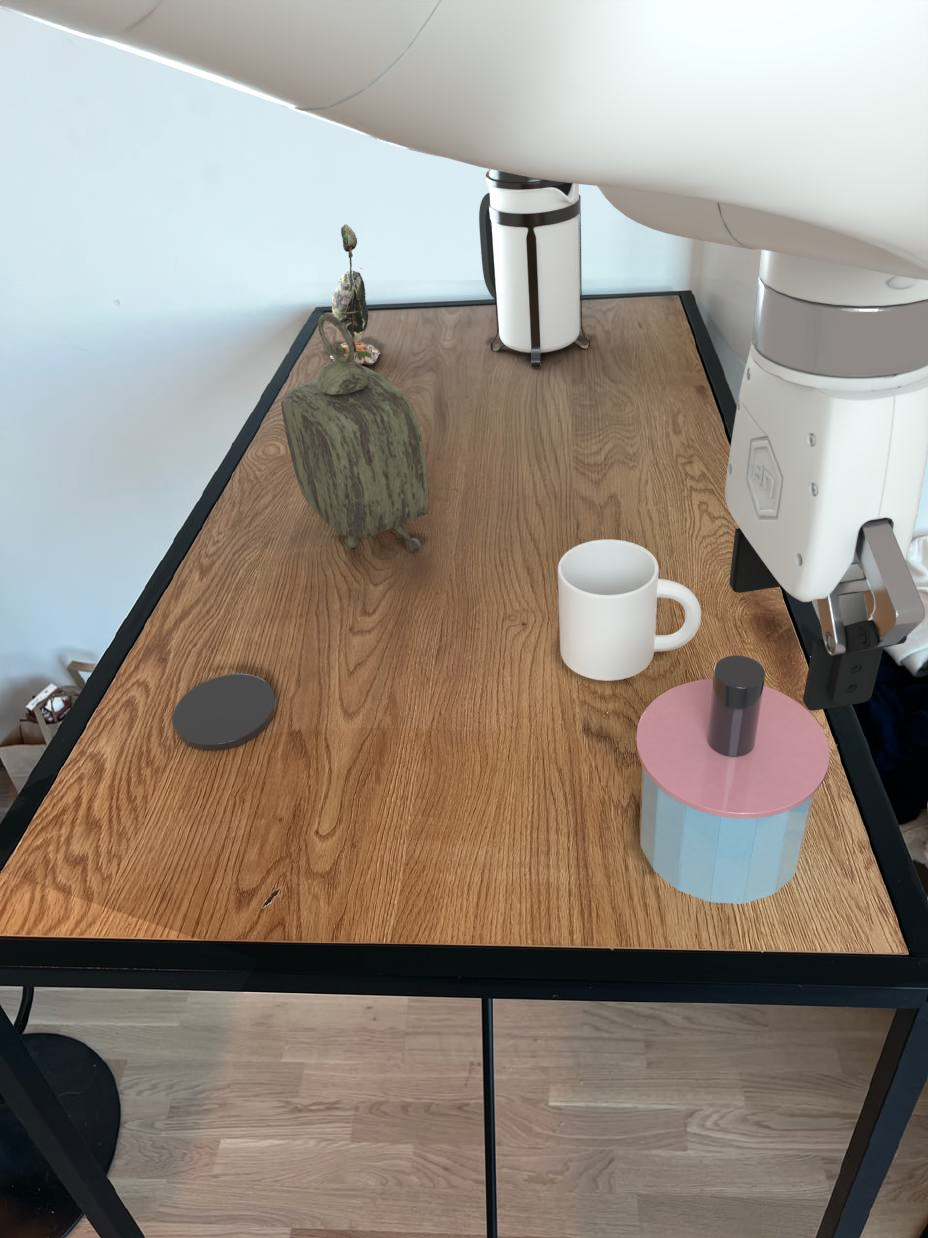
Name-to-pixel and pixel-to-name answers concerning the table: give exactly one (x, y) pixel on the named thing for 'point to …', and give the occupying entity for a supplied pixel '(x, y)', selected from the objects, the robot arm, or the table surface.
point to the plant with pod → (353, 306)
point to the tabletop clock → (356, 448)
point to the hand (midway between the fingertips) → (793, 640)
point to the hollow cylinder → (720, 847)
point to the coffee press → (533, 261)
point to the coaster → (224, 712)
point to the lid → (733, 744)
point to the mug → (616, 609)
